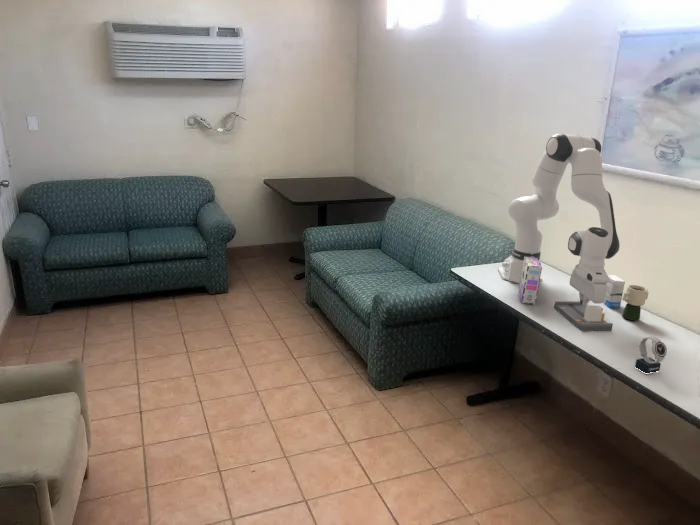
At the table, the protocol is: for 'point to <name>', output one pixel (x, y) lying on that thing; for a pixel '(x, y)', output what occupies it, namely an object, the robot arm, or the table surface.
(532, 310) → the table surface
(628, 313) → the character mug
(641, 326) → the table surface
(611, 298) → the ink box
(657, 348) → the watch
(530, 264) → the candy box
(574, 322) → the fader console
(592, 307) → the fader tab
